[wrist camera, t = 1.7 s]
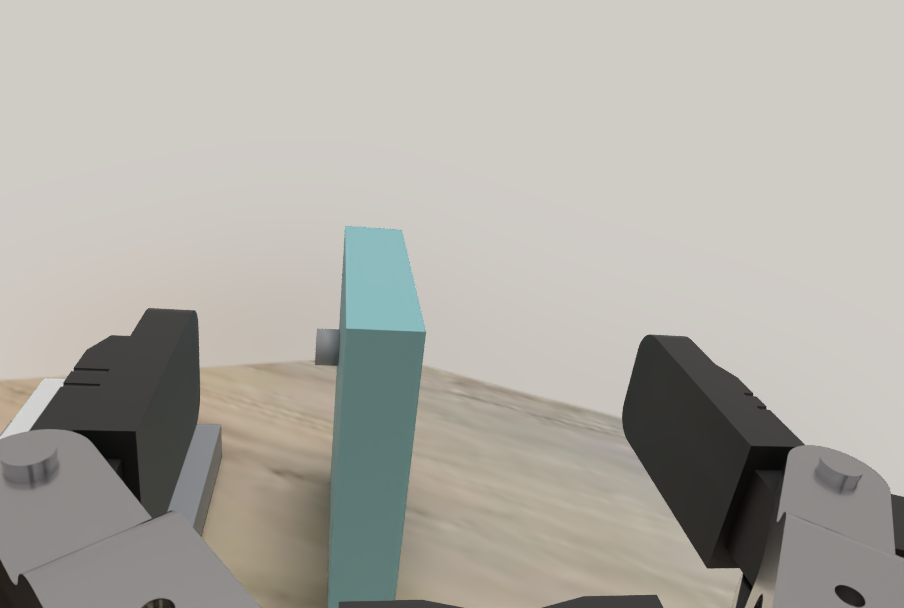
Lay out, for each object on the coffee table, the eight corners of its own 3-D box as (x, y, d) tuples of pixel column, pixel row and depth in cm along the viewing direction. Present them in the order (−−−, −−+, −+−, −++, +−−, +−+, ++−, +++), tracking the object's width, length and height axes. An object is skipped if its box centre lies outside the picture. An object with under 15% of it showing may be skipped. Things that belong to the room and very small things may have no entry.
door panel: (378, 480, 36) (401, 229, 31) (389, 644, 27) (426, 331, 22) (310, 480, 36) (322, 224, 30) (300, 647, 27) (313, 327, 21)
